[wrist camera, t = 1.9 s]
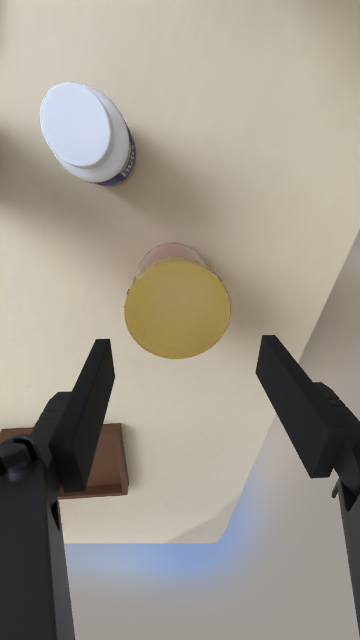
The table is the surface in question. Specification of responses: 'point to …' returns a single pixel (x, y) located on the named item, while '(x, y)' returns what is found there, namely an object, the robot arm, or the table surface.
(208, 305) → the lid
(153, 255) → the jar
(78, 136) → the pill bottle
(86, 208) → the table surface
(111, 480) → the tray
